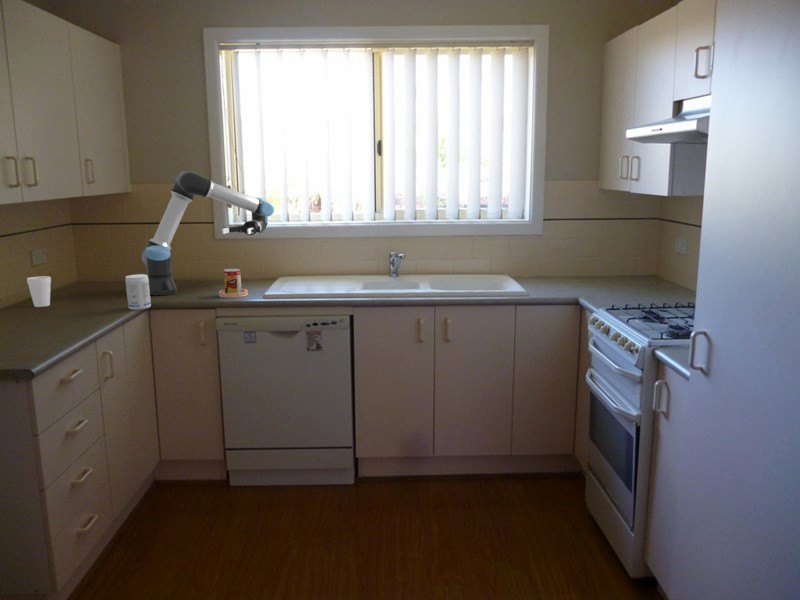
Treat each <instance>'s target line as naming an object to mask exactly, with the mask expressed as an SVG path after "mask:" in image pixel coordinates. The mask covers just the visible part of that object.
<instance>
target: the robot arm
mask: <svg viewBox="0 0 800 600" xmlns="http://www.w3.org/2000/svg"><path fill="white" fill-rule="evenodd" d="M170 193H171V198H170V200H169V202H168V205H167V207H166V209H165V211H164V213H163V216H162V218H161V221H160V222H159V224H158V227H157V230H156V231H155V234H154V236H153V237H152V238H150V239H149V240H148V242H147V244H146V246H145V247H144V249H143V250H142V252H141V254H140V255H141V258H140V259H141V261H142V263H143V265H144V267H146V275H147V276H148V281H149V290H150V295H156V297H157V295H160V296H168V295H169V296H170V295H173V293H174V294H177V293H178V287H177V285H176V283H175V281H174V279H173V271H172V270H173V269H172V257H171V250H172V247H171V244H172V241H173V238H174V236H175V233H176V231H177V229H178V228H179V225H180V222H181V221H182V218H183V216H184V214H185V211H186V209H187V207H188V205H189V203H191V202H193V201H194V198H195V196H198V197H202V198H208V197H209V198H211V199H215V200H217V201H220V202H223V203H226V204H228V205H231V206H234V207H237V208H240V209H242V210H246V211H248V212H251V220H249V221H248V220H247V221H246V222H244V224H242V225H236V226H227V227H226V226H223V228H221V234H222V235H228V234H229V233H243V234H245V235H247V236H256V235H257V234H262V232H263V231H264V230H265V228H266V226H267V224H269V222H268V220H267V217H271V216H272V215H273V214H274V213H275V206H274V205H273V204H272V203H270V201H269V202H268V201H266V199H265V198H264V197H254V196H251V195H248V194H245V193H243V192H240V191H237V190H234V189H232V188H229V187H226V186H224V185H221V184H218V183H216V182H213V181H212V179H210V178H208V177H206V176H203V175H201V174H199V173H197V172H195V171H188V170H183V171H182V172H179V173H178V174H177V175H176V176H175V177H174V180H173V185H172V187H171V191H170ZM266 220H267V221H266ZM263 233H264V232H263Z"/></svg>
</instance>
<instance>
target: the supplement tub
mask: <svg viewBox="0 0 800 600" xmlns="http://www.w3.org/2000/svg"><path fill="white" fill-rule="evenodd" d="M124 278H125V288H126V290H125V291H126V298H127V306H128V307H127V308H128V309H129V310H133V311H139V310H140V311H141V310H145V309H150V308H151V306H152V302H151V301H152V300H151V296H150V290H149V281H148V276H147V274H144V273H140V274H138V273H137V274H131V275H126V276H125V277H124Z"/></svg>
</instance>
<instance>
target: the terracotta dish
mask: <svg viewBox="0 0 800 600" xmlns="http://www.w3.org/2000/svg"><path fill="white" fill-rule="evenodd" d="M241 291H242V292H241V293H225V289H221V290H219V291H218V297H219V298H224V299H229V298H231V299H234V298H235V299H237V298H242V297H247V296H248V295H249V290H248V289H245V288H241Z"/></svg>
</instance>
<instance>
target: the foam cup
mask: <svg viewBox="0 0 800 600" xmlns="http://www.w3.org/2000/svg"><path fill="white" fill-rule="evenodd" d="M51 282H52V277H51V276H47V275H42V276H41V275H40V276H30V277H27V278H26V283H27V285H28V288H29V292H30V296H31V300H32V303H33V306H34V307H35V308H41V307H43V308H44V307H48V306H51V286H52V285H51Z"/></svg>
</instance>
